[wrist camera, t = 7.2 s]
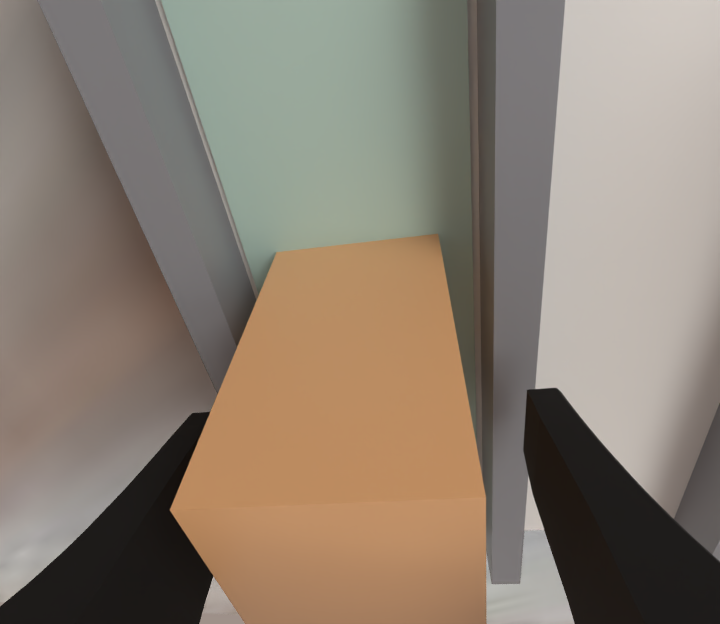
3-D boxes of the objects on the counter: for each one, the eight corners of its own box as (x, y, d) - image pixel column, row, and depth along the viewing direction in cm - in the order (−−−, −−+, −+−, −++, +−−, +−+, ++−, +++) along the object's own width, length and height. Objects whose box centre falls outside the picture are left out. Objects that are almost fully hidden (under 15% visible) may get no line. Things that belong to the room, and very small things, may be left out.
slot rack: (1068, -269, 7) (1414, -393, 5) (713, 499, 19) (762, 579, 16) (60, -49, 9) (-55, -58, 7) (293, 516, 21) (280, 587, 18)
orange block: (438, 233, 11) (485, 497, 6) (449, 407, 15) (486, 682, 9) (276, 251, 12) (169, 510, 6) (323, 416, 15) (283, 680, 10)
